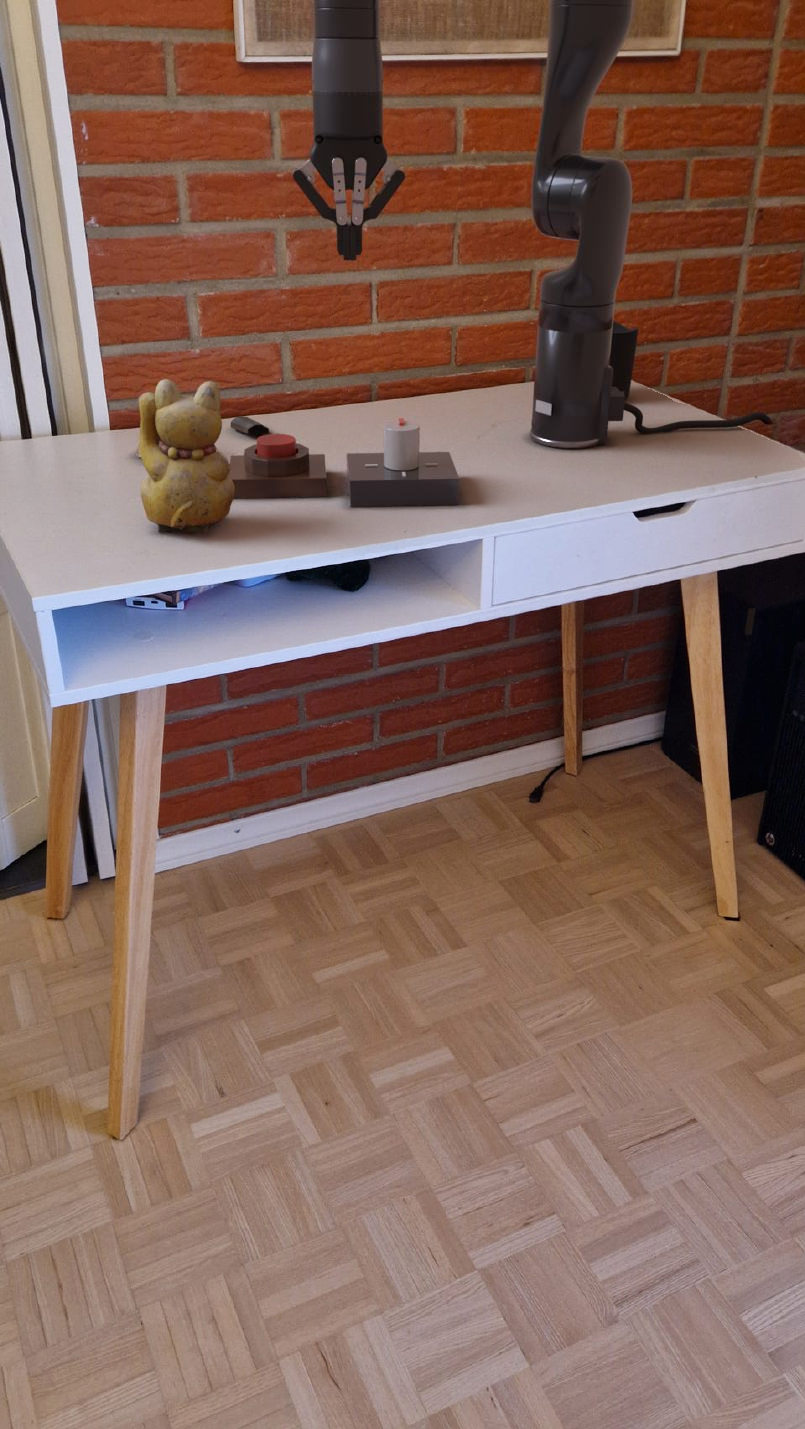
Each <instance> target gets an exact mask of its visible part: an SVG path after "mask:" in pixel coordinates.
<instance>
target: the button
mask: <svg viewBox="0 0 805 1429" xmlns="http://www.w3.org/2000/svg"><path fill="white" fill-rule="evenodd" d="M296 440H297V439H296V437H295V436H293V435H290V434H286V433H270V434H269V433H268V434H263V435H261V436H258V438H256V444H257V455H259V456H263V457H269V458H283V457H288V456H293V455H295V454H296V443H297V441H296Z"/></svg>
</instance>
